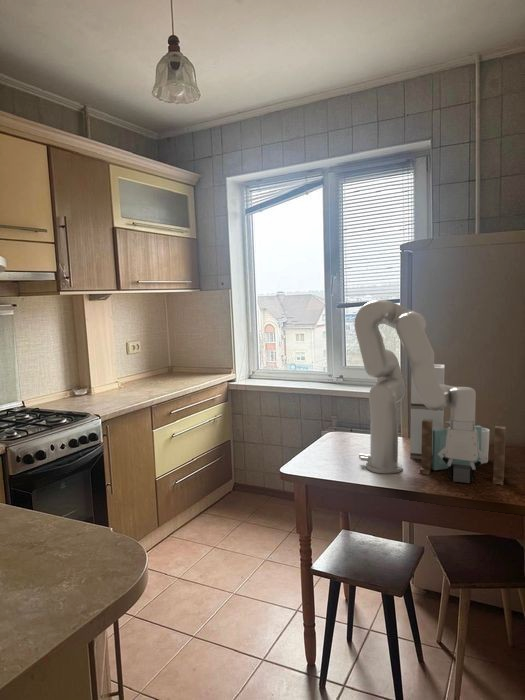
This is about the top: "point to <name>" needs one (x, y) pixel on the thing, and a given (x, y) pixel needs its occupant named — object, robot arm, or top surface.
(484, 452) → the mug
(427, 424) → the door frame
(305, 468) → the top surface
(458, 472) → the block
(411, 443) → the white block
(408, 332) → the robot arm
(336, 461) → the top surface
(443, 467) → the door
